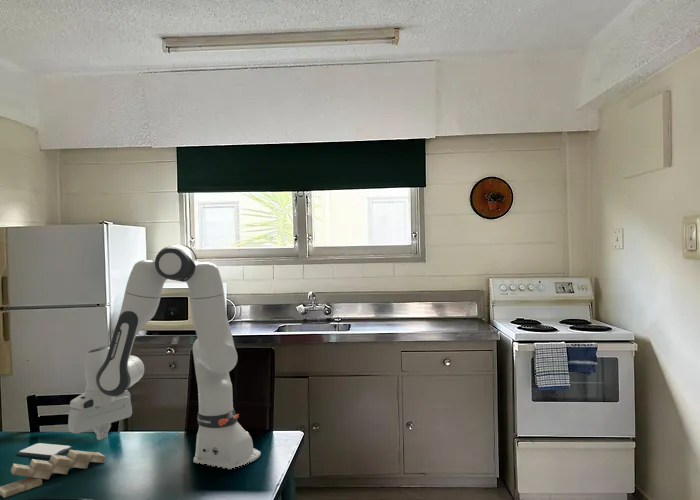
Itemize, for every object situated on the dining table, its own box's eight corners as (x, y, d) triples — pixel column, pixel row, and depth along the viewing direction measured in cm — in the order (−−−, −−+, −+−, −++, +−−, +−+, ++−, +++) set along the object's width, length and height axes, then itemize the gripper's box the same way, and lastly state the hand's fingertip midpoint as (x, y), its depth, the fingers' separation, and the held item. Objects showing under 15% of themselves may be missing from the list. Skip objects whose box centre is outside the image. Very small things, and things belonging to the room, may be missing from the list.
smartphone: (16, 456, 182) (52, 460, 177) (15, 452, 182) (52, 455, 177) (38, 446, 190) (74, 450, 186) (38, 442, 190) (73, 445, 186)
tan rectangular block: (99, 452, 177) (69, 449, 170) (105, 456, 174) (76, 453, 167) (96, 458, 177) (67, 456, 170) (103, 462, 173) (73, 460, 166)
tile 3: (66, 464, 169) (32, 458, 163) (69, 467, 165) (34, 462, 160) (63, 470, 168) (29, 465, 163) (66, 474, 164) (31, 469, 159)
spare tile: (35, 475, 162) (-3, 487, 154) (42, 479, 159) (4, 492, 151) (35, 481, 162) (-3, 494, 154) (42, 486, 159) (4, 499, 151)
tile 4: (48, 468, 166) (13, 463, 160) (51, 472, 162) (15, 467, 156) (46, 475, 165) (10, 470, 160) (48, 479, 161) (12, 474, 156)
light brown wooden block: (83, 458, 173) (51, 454, 167) (89, 461, 170) (57, 458, 163) (81, 464, 173) (49, 461, 166) (86, 468, 169) (54, 465, 163)
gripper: (124, 387, 186) (126, 426, 186) (64, 403, 169) (66, 446, 169) (135, 389, 182) (136, 430, 182) (75, 406, 165) (76, 450, 166)
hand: (102, 438), depth 176 cm, fingers closed
